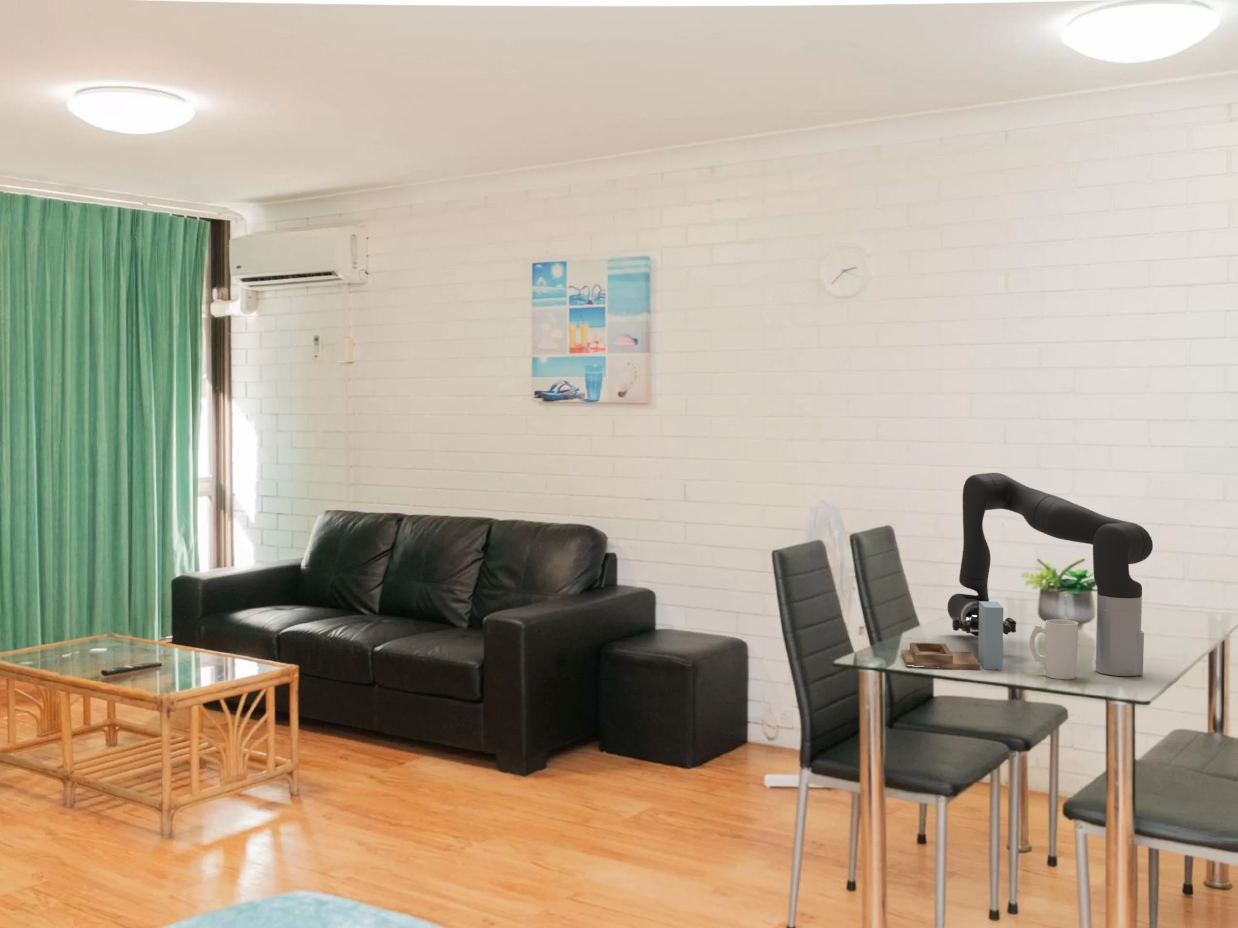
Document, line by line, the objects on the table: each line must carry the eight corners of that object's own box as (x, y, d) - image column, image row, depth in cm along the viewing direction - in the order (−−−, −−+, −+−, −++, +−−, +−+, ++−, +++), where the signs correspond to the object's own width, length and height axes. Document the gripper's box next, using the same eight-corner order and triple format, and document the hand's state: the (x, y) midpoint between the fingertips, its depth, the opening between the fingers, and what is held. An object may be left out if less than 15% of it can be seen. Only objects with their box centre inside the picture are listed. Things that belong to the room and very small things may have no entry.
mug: (1079, 675, 268) (1080, 621, 267) (1074, 681, 262) (1075, 625, 262) (1032, 670, 273) (1033, 617, 272) (1026, 675, 267) (1027, 621, 267)
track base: (970, 656, 288) (970, 644, 288) (979, 669, 273) (980, 656, 273) (901, 654, 290) (901, 641, 290) (906, 667, 275) (906, 653, 275)
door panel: (995, 661, 282) (997, 601, 282) (1002, 669, 273) (1003, 607, 273) (978, 661, 283) (979, 601, 282) (983, 669, 274) (985, 607, 273)
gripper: (948, 602, 299) (956, 612, 283) (1008, 603, 297) (1020, 614, 281) (947, 632, 300) (955, 644, 283) (1007, 634, 297) (1019, 646, 281)
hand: (987, 629), depth 282 cm, fingers open, 8 cm apart
